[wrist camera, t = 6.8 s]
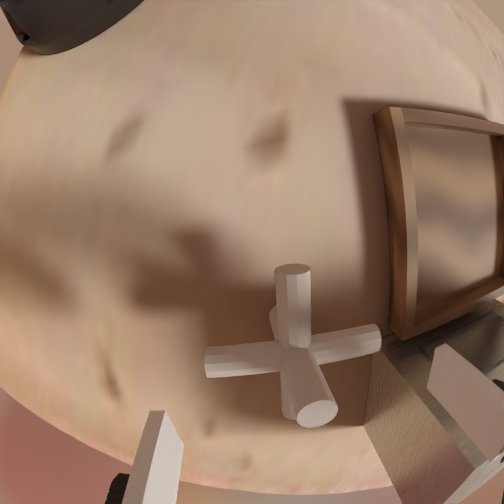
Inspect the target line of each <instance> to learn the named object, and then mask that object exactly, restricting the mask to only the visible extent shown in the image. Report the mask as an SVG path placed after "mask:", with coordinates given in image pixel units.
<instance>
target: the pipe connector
mask: <svg viewBox="0 0 504 504" xmlns="http://www.w3.org/2000/svg"><path fill="white" fill-rule="evenodd" d="M274 273H275V288H276V306H274V307H273V308H272V309H271V310H270V312H269V320H270V324H271V327H272V331H273V335H274V338H275V340H273V341H264V342H255V343H246V344H235V345H224V346H210V347H205V348H204V355H203V356H204V367H205V373H206V376H207V377H208V378H216V377H230V376H242V375H252V374H261V373H270V372H277V371H280V382H281V407H282V414H283V416H284V417H285V418H287V419H289V420H297V422H298V423H299V425H301V426H303V427H306V428H314V427H319V426H322V425H324V424H326V423H328V422H329V421H331V420H332V419H333V418H334V417H335V416H336V414H337V412H338V406H337V404H336V402H335V399H334V397H333V395H332V393H331V391H330V389H329V386H328V384H327V382H326V380H325V378H324V376H323V374H322V371H321V369H320V367H319V365H321V364H326V363H332V362H336V361H341V360H346V359H350V358H355V357H359V356H363V355H367V354H371V353H375V352H378V351H379V350H380V348H381V334H380V330H379V328H378V327H377V325H375V324H373V323H372V324H368V325H363V326H358V327H353V328H348V329H343V330H338V331H332V332H327V333H321V334H315V335H311V277H310V267H309V266H307V265H302V264H287V265H282V266H279V267H277V268H275V271H274Z"/></svg>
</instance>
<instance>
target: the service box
mask: <svg viewBox="0 0 504 504" xmlns="http://www.w3.org/2000/svg"><path fill="white" fill-rule="evenodd" d="M445 343H446V344H447V345H449V346H450V347H451V348H452V349H454V350H455V351H456V352H457V353H459V354H460V355H461V356H462V357H464V358H465V359H466V360H467V361H468V362H470V363H471V364H472V365H473V366H474V367H476V368H477V369H478V370H479V371H480V372H482V373H483V374H484V375H485V376H486V377H488V378H489V379H490V380H491V381H492V380H493V379H498V380H500V381H503V382H504V304H503V303H501V302H499V301H497V300H496V299H494V300H492V301H490V302H488V303H486V304H484V305H483V306H481V307H479V308H477V309H475V310H473V311H471V312H469V313H467V314H465V315H463V316H461V317H458V318H456V319H454V320H452V321H450V322H448V323H445V324H443V325H441V326H438V327H436V328H434V329H431V330H429V331H427V332H424V333H422V334H419V335H417V336H414V337H411V338H409V339H406V340H404V341H402V340H401V339H400V338H399V337H398V336H397V335H396V334H393V335H390V336H388V337H385V338H381V348H380V350H379V351H378V352H375V353H372V360H371V371H370V381H369V390H368V398H367V406H366V412H365V419H364V425H363V426H364V428H365V430H366V432H367V434H368V436H369V438H370V440H371V442H372V444H373V446H374V448H375V449H376V451H377V453H378V455H379V457H380V459H381V461H382V463H383V465H384V467H385V469H386V471H387V473H388V475H389V477H390V479H391V481H392V483H393V485H394V487H395V489H396V491H397V493H398V495H399V497H400V499H401V501H402V504H457V503H459V502H460V501H462V500H463V499H464V498H466V497H467V496H469V495H470V494H471V493H473V492H474V491H475V490H477V489H478V488H479V487H481V486H482V485H483V484H484V483H486V482H487V481H488V480H489V479H490V478H492V477H493V476H494V475H495V474H496V473H497V472H499V471H500V470H501V469H502V468H503V467H504V461H503V462H502V463H500V462H501V459H502V457H503V456H504V451H503V453H502V454H501V455H500V456H499V457H497V458H496V459H495V460H494V461H493V462H492V463H490V462H489V460H488V459H487V458H486V457H485V455H484V454H483V453H482V452H481V450H480V449H479V448H478V447H477V446H476V444H475V443H474V442H473V441H472V440H471V438H470V437H469V436H468V435H467V434H466V432H465V431H464V430H463V429H462V428H461V427H460V425H459V424H458V423H457V422H456V421H455V420H454V418H453V417H452V416H451V415H450V414H449V413H448V412H447V410H446V409H445V408H444V407H443V406H442V405H441V404H440V402H439V401H438V400H437V399H436V398H435V397H434V396H433V395H432V393H431V392H430V391H429V390H428V389H427V388H426V387H427V384H428V380H429V376H430V371H431V367H432V362H433V358H434V353H435V348H437V347H439V346H441V345H443V344H445Z"/></svg>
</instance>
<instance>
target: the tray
mask: <svg viewBox="0 0 504 504" xmlns="http://www.w3.org/2000/svg"><path fill="white" fill-rule="evenodd" d="M373 119H374V124H375V129H376V134H377V140H378V145H379V151H380V157H381V163H382V170H383V178H384V186H385V194H386V204H387V216H388V230H389V252H390V301H389V322H388V327H389V328H390V329H391V330H392V331H393V332H394V333H395V334H396V335H397V336H398V337H399V338H400V339H401V340H402V341H404V340H406V339H409V338H411V337H414V336H417V335H419V334H422V333H424V332H427V331H429V330H431V329H434V328H436V327H438V326H441V325H443V324H445V323H448V322H450V321H452V320H454V319H456V318H458V317H461V316H463V315H465V314H467V313H469V312H471V311H473V310H475V309H477V308H479V307H481V306H483V305H484V304H486V303H488V302H490V301H492V300H494V299H495V298H497V297H499V296H501V295H503V294H504V125H503V124H499V123H495V122H491V121H487V120H483V119H478V118H473V117H468V116H463V115H457V114H451V113H445V112H438V111H430V110H422V109H412V108H400V107H388V108H386V109H384V110H381V111H379V112H377V113H375V114H373Z"/></svg>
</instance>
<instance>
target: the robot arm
mask: <svg viewBox="0 0 504 504" xmlns="http://www.w3.org/2000/svg"><path fill="white" fill-rule="evenodd" d="M143 1H144V0H0V7H1V8H2V10H3V12H4V14H5V16H6V18H7V20H8V22H9V24H10V26H11V28H12V29H13V31H14V33H15V35H16V37H17V38H18V40H19V41H20V42H21V43H22V44H23V45H24V46H26V47H27V48H29V49H31V50H33V51H34V52H36V53H39V54H54V53H59V52H62V51H65V50H68V49H71V48H73V47H76V46H78V45H80V44H82V43H84V42H86V41H88V40H90V39H92V38H93V37H95V36H97V35H98V34H100V33H102V32H103V31H105V30H106V29H108V28H109V27H111V26H112V25H114V24H115V23H117V22H118V21H119V20H121V19H122V18H124V17H125V16H126V15H127V14H129V13H130V12H131V11H132V10H134V9H135V8H136V7H137V6H138V5H139V4H140V3H141V2H143ZM426 388H427V389H428V390H429V391H430V392H431V393H432V395H433V396H434V397H435V398H436V399H437V400H438V401H439V402H440V404H441V405H442V406H443V407H444V408H445V409H446V410H447V412H448V413H449V414H450V415H451V416H452V417H453V418H454V420H455V421H456V422H457V423H458V424H459V425H460V427H461V428H462V429H463V430H464V431H465V432H466V434H467V435H468V436H469V437H470V438H471V440H472V441H473V442H474V443H475V444H476V446H477V447H478V448H479V449H480V450H481V452H482V453H483V454H484V455H485V457H486V458H487V459H488V460H489V462H490V463H492V462H493V461H494V460H495V459H496V458H497V457H499V456H500V455H501V454H502V453H503V451H504V382H503V381H500V380H498V379H493V380H492V381H491V380H490V379H489V378H488V377H486V376H485V375H484V374H483V373H482V372H480V371H479V370H478V369H477V368H476V367H474V366H473V365H472V364H471V363H470V362H468V361H467V360H466V359H465V358H464V357H462V356H461V355H460V354H459V353H457V352H456V351H455V350H454V349H452V348H451V347H450V346H449V345H447V344H446V343H445V344H443V345H441V346H439V347H437V348H435V353H434V358H433V362H432V367H431V371H430V376H429V380H428V384H427V387H426ZM183 450H184V444H183V442H182V441H181V439H180V437H179V435H178V434H177V432H176V430H175V428H174V426H173V425H172V423H171V421H170V419H169V417H168V415H167V413H166V411H150V412H149V415H148V419H147V422H146V425H145V428H144V431H143V434H142V437H141V440H140V443H139V446H138V450H137V453H136V456H135V459H134V463H133V466H132V469H131V473H130V474H122V473H119V474H118V475H117V476H116V477H115V478H114V479H113V481H112V483H111V486H110V489H109V493H108V495H107V500H106V502H105V504H176V499H177V491H178V484H179V477H180V470H181V463H182V456H183ZM503 461H504V456H503V457H502V459H501V462H500V463H502V462H503ZM502 504H504V492H503V498H502Z"/></svg>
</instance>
